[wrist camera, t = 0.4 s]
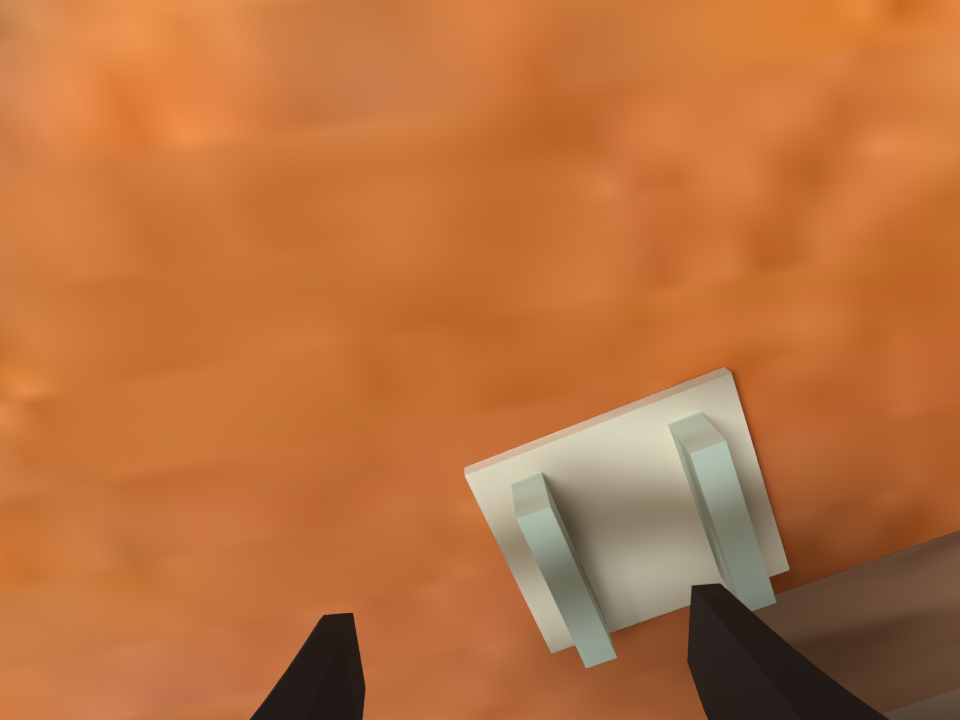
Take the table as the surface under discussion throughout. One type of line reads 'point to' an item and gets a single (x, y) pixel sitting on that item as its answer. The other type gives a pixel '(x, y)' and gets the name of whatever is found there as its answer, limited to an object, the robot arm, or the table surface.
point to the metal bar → (884, 629)
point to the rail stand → (633, 514)
